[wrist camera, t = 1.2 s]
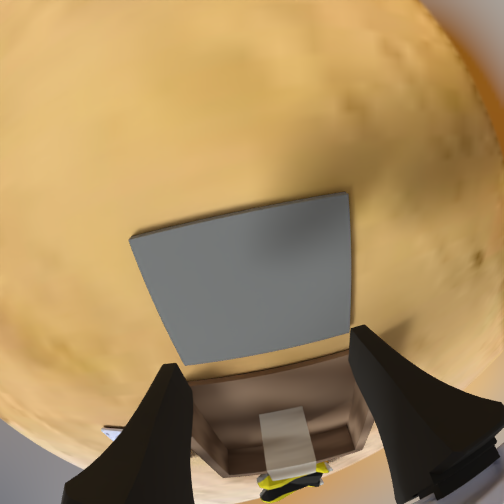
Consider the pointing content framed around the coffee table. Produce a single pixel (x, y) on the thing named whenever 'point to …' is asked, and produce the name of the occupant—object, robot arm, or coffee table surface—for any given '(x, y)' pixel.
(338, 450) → the crate
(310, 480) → the gaming controller
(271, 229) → the mat
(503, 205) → the coffee table surface
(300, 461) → the block
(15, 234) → the coffee table surface
